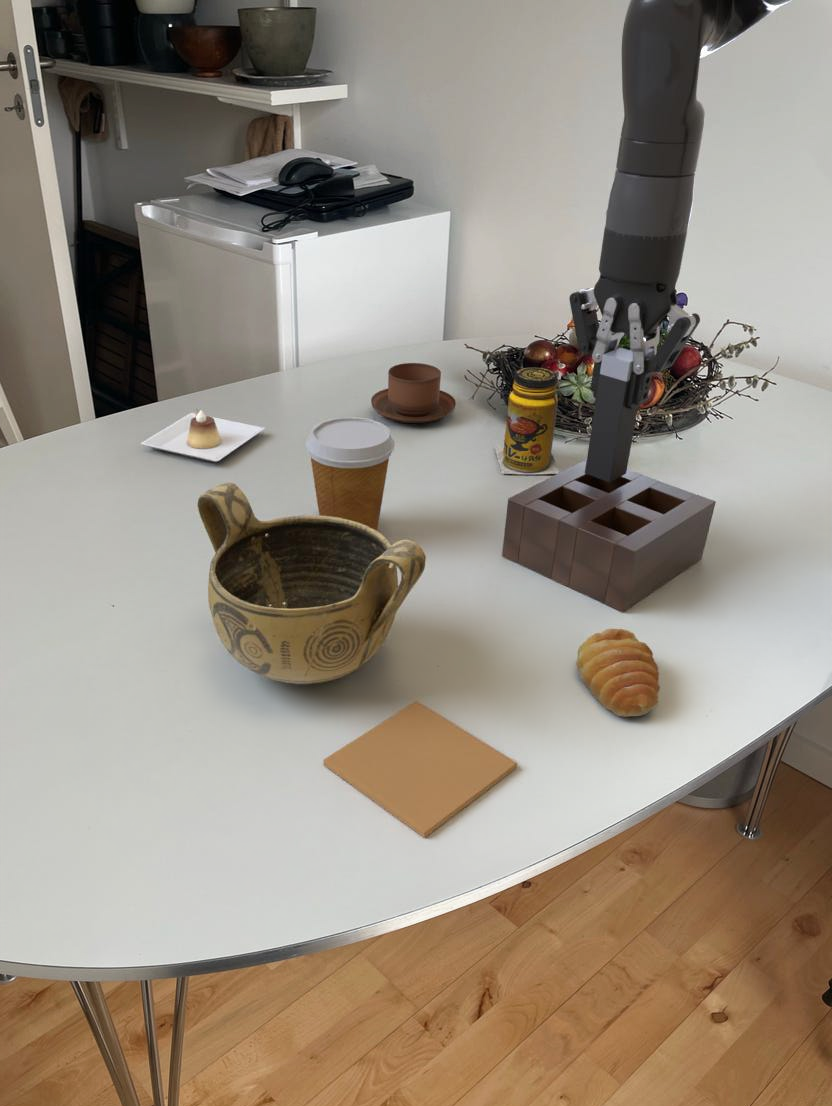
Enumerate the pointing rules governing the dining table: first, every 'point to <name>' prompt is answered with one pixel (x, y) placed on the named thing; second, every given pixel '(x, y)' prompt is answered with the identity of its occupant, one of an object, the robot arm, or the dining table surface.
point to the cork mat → (420, 767)
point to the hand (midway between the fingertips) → (617, 400)
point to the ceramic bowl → (302, 588)
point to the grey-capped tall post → (612, 418)
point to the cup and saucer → (413, 395)
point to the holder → (607, 533)
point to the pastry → (619, 672)
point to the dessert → (202, 437)
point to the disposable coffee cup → (350, 467)
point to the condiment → (530, 424)
